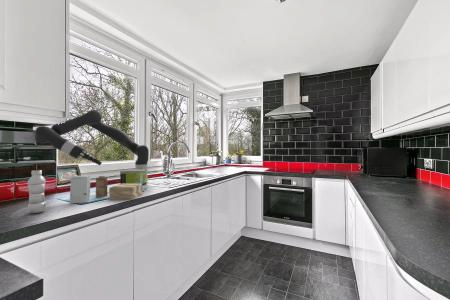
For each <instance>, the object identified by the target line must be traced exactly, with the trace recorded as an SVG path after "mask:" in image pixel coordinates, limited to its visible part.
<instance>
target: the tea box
mask: <svg viewBox="0 0 450 300" xmlns="http://www.w3.org/2000/svg"><path fill="white" fill-rule="evenodd" d="M119 177H120V178H119V179H120V181H119V184H122V183H140V184H142V191H145V190H147V185H146V170H135V169H125V170H120V172H119Z"/></svg>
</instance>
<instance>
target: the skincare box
mask: <svg viewBox="0 0 450 300" xmlns="http://www.w3.org/2000/svg"><path fill="white" fill-rule="evenodd" d="M69 190H70V191H69V204H80V203H81V204H82V203H88V202H90V200H91V199H90V197H91V196H90V195H91V175H72V176H71V177H70V189H69Z"/></svg>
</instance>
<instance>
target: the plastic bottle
mask: <svg viewBox="0 0 450 300" xmlns="http://www.w3.org/2000/svg"><path fill="white" fill-rule="evenodd" d="M42 171H43V170H41V169H36V170H31V176H30V178H28V180H27V187H28V195H29V198H28V205H27V213H29V214H39V213H42V212H44V211H46V209H47V203H46V198H45V188H46V182H47V181H46V179H45V177H44V176H43V175H42V174H43V172H42Z"/></svg>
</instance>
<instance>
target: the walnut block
mask: <svg viewBox="0 0 450 300" xmlns="http://www.w3.org/2000/svg"><path fill="white" fill-rule="evenodd" d="M107 196H108V176H105V175H100V176H98V177H96V178H95V198H105V197H107Z"/></svg>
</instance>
